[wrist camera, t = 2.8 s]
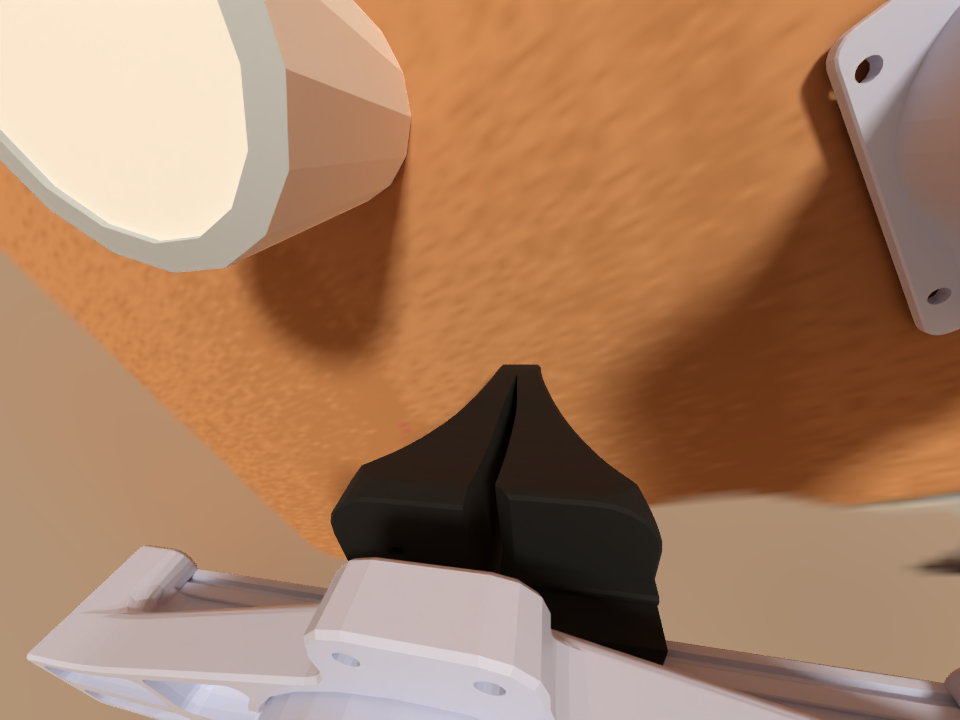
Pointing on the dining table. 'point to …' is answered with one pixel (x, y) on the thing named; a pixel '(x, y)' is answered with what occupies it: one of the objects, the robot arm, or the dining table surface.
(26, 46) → the shot glass
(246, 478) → the dining table surface
